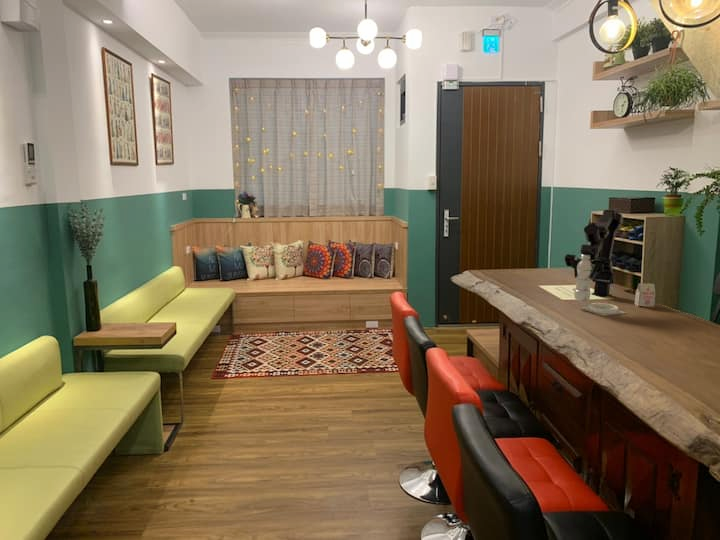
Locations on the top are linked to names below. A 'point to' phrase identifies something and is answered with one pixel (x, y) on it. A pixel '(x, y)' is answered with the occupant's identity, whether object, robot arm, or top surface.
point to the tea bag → (645, 295)
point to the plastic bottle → (583, 278)
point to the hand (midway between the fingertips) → (582, 278)
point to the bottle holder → (603, 309)
